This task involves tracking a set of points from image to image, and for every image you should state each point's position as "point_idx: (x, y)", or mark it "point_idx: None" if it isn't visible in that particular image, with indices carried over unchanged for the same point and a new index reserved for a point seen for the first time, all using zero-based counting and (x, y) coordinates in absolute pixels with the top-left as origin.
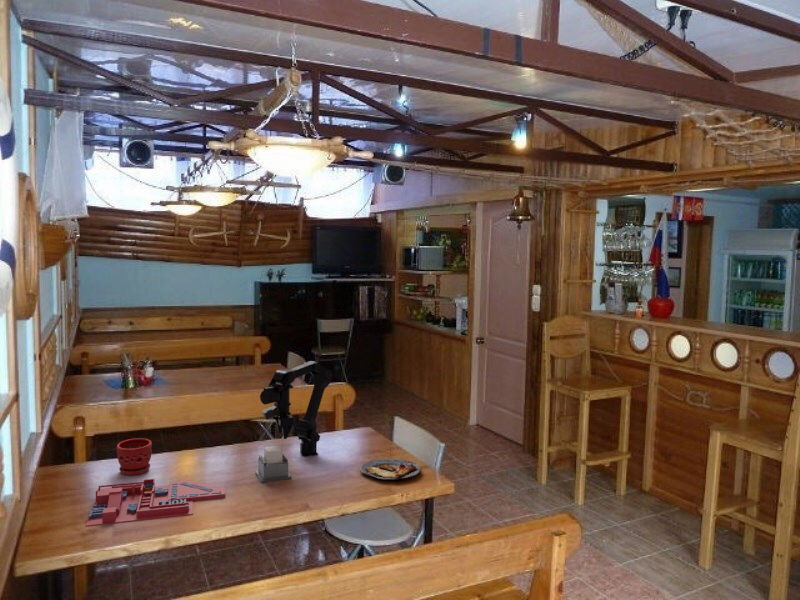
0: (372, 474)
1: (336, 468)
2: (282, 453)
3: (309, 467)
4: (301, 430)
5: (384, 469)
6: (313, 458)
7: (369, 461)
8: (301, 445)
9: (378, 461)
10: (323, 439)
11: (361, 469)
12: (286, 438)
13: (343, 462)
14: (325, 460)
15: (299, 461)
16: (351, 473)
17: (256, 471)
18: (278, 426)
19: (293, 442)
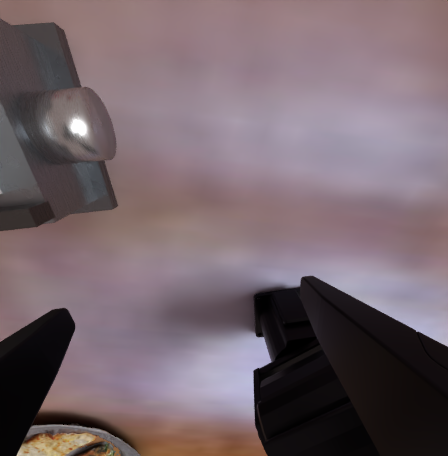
0: (26, 436)
1: (106, 367)
2: (8, 228)
3: (125, 299)
4: (311, 410)
5: (86, 449)
6: (223, 318)
7: (123, 442)
8: (287, 318)
9: (130, 452)
10: None
11: (48, 427)
12: (62, 331)
13: (161, 384)
14: (192, 347)
15: (203, 273)
16: (56, 394)
17: (28, 28)
18: (356, 337)
19: (429, 275)
